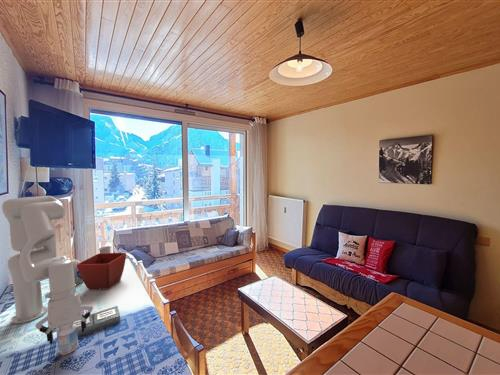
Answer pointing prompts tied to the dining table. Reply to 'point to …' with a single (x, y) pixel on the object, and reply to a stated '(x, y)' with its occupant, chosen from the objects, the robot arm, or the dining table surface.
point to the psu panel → (99, 321)
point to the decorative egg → (76, 271)
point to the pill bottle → (67, 338)
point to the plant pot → (102, 270)
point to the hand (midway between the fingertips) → (67, 335)
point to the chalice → (104, 249)
